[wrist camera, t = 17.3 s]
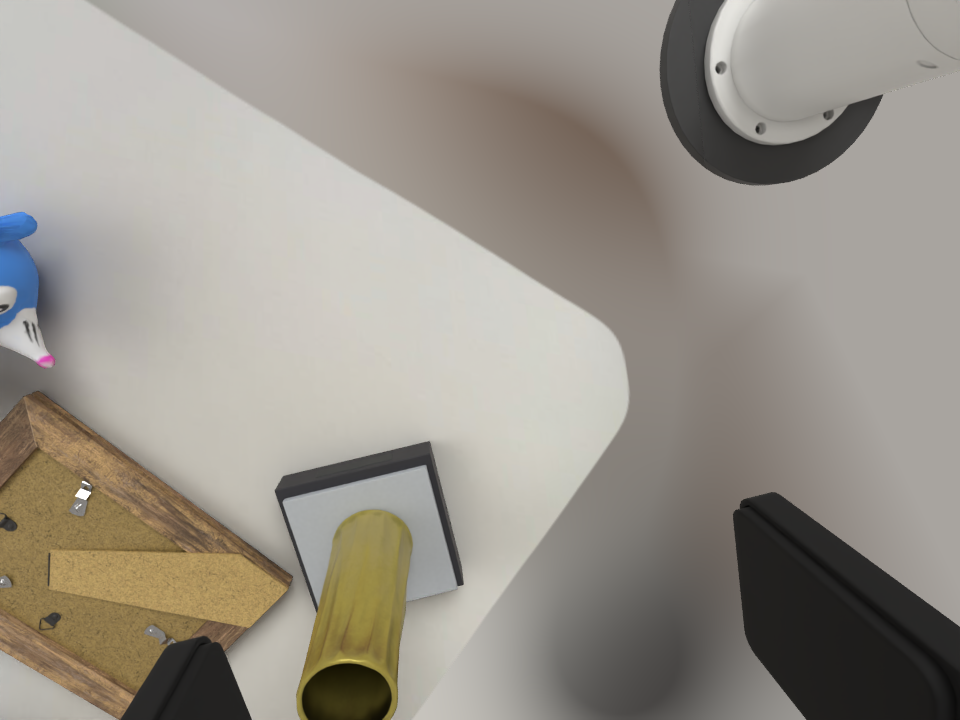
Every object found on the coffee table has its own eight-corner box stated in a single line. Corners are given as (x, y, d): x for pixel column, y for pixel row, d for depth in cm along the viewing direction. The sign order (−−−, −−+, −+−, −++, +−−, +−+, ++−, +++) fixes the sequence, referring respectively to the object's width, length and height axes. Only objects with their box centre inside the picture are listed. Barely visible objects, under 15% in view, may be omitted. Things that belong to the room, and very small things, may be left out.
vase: (349, 588, 42) (311, 765, 28) (320, 522, 40) (266, 675, 26) (423, 563, 42) (422, 727, 28) (397, 497, 40) (383, 636, 26)
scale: (429, 440, 43) (430, 455, 40) (461, 566, 46) (464, 590, 43) (282, 475, 42) (271, 494, 39) (325, 601, 45) (318, 627, 42)
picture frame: (293, 575, 44) (39, 389, 39) (288, 589, 42) (21, 396, 37) (151, 717, 46) (-112, 559, 40) (140, 736, 44) (-137, 573, 39)
